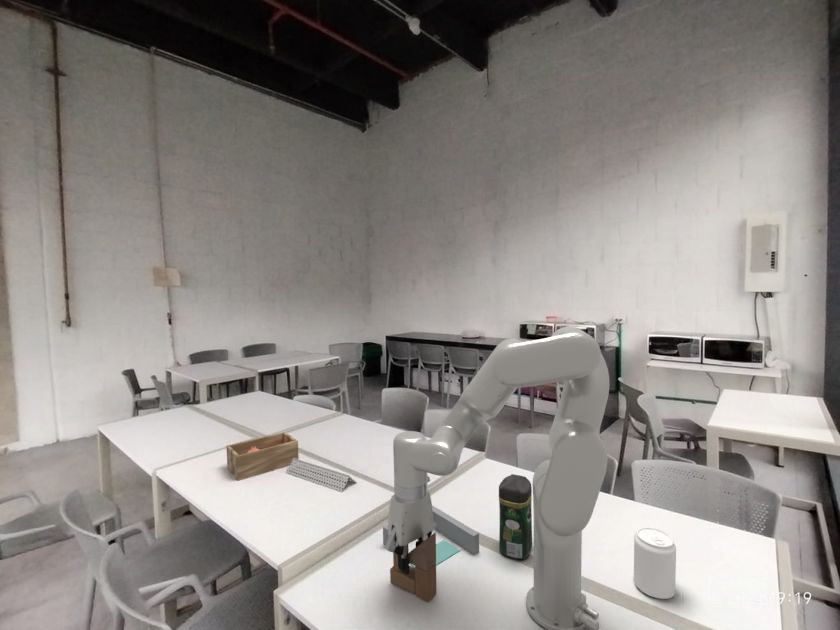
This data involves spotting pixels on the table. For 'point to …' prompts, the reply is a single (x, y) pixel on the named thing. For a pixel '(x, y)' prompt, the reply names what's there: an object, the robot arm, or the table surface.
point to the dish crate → (261, 455)
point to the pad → (443, 551)
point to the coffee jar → (515, 516)
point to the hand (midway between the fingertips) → (412, 565)
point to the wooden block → (418, 570)
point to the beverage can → (654, 562)
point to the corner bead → (319, 470)
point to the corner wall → (450, 531)
